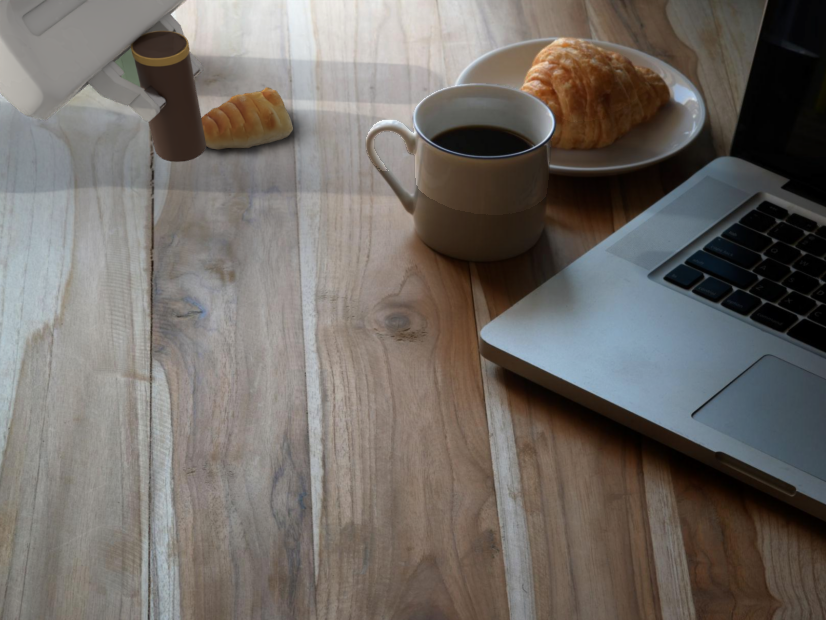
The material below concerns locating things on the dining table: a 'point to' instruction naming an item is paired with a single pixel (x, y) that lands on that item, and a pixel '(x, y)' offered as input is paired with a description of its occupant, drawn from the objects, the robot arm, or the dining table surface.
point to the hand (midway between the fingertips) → (176, 95)
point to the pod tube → (171, 94)
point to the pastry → (247, 121)
